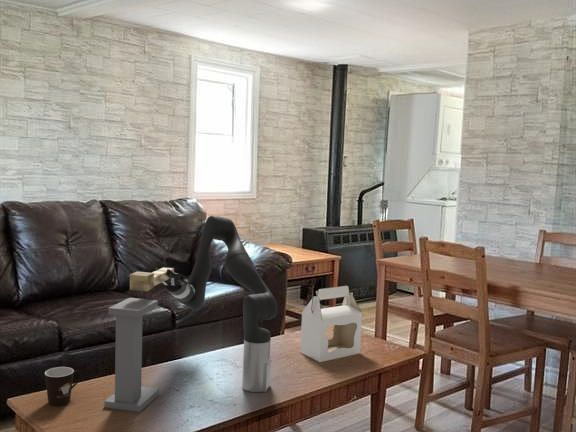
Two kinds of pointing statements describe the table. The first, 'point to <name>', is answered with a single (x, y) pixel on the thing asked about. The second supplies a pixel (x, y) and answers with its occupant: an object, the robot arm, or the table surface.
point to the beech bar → (148, 279)
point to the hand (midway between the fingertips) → (161, 271)
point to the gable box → (321, 319)
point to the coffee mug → (60, 385)
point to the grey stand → (130, 356)
